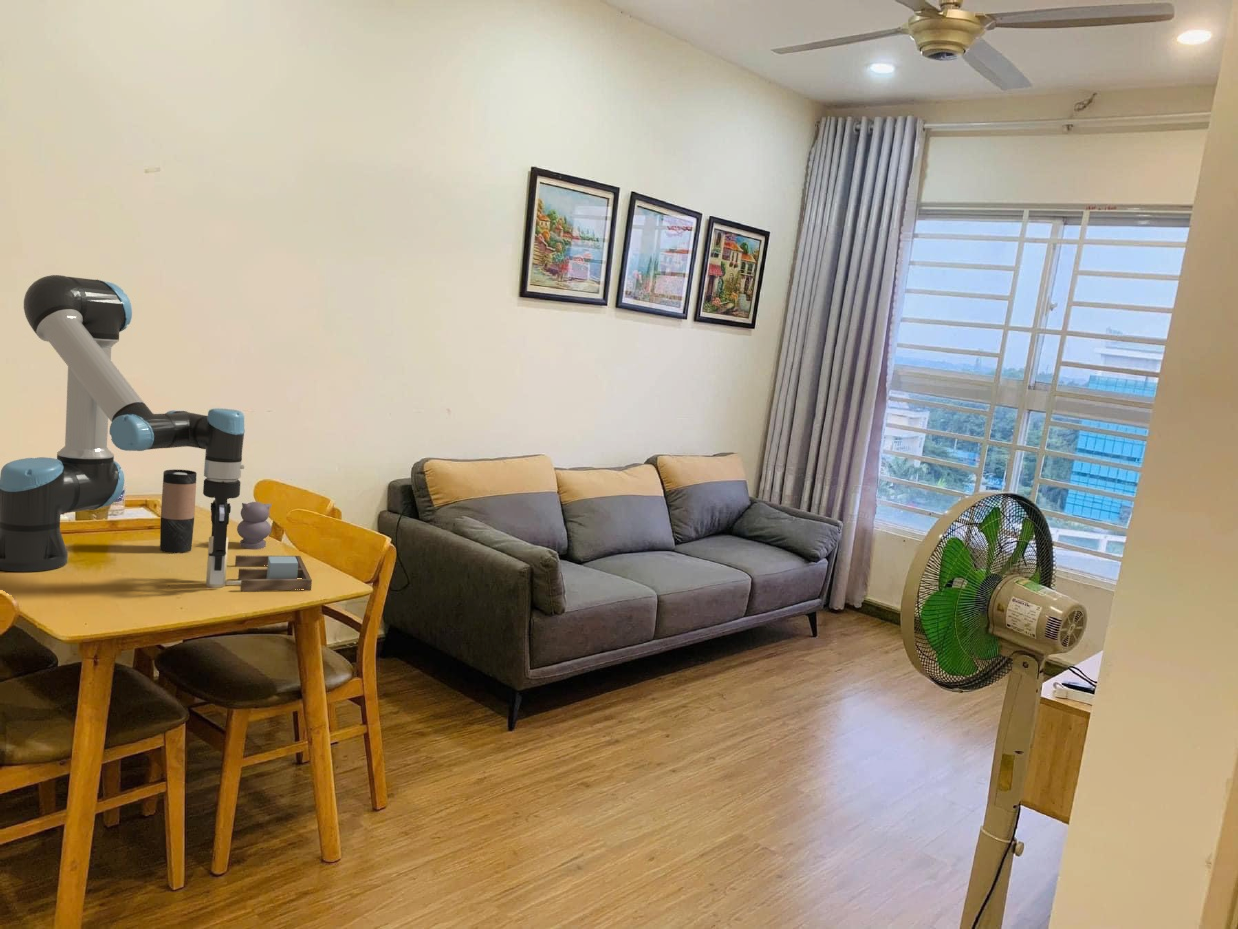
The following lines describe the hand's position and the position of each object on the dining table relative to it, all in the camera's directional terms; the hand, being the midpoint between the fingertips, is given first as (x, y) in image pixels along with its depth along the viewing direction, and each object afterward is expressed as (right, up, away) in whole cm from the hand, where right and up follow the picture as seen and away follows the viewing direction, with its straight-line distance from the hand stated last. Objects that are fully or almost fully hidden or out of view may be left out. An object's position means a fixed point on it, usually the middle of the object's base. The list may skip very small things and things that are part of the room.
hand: (215, 579), depth 205 cm
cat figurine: (-7, +4, +37) cm, 38 cm away
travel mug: (-21, +4, +25) cm, 33 cm away
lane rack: (+8, -1, +11) cm, 14 cm away
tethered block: (+7, -2, +4) cm, 8 cm away
